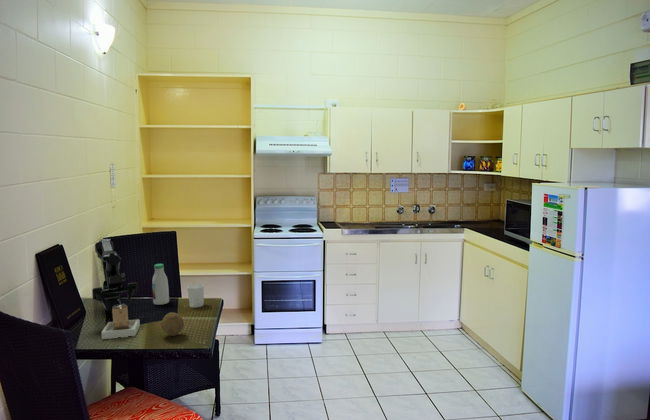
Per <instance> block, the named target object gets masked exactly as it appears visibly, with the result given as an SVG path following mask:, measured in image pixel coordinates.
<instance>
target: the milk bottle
mask: <svg viewBox="0 0 650 420" xmlns="http://www.w3.org/2000/svg"><path fill="white" fill-rule="evenodd" d="M164 268H165V266H164V263H156V264H154V266H153V269H154V274H153V275H152V281H151V282H152V283H151V284H152V285H151V286H152V287H151V288H152V302H153V304H154V305H157V306H158V305H161V306H162V305H165V304H168V303H169V302H170V296H169V295H170V293H169V292H170V291H169V280H168V276H167V275H166V273H165V270H164Z"/></svg>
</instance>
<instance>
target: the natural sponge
mask: <svg viewBox="0 0 650 420" xmlns="http://www.w3.org/2000/svg"><path fill="white" fill-rule="evenodd" d="M160 323H161V324H160V327H161V329H162V330H163V332H165V333H166V334H168V335H169V336H171V337H176V336H177V335H178V334H179V333H180V332H181V331H182V330H183V329H184V327H185V322H184V319H183V317H181V315H180V314H179V313H177V312H168V313H166V314H165V315H164V317H162V320H161V322H160Z"/></svg>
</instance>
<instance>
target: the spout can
mask: <svg viewBox="0 0 650 420" xmlns="http://www.w3.org/2000/svg"><path fill="white" fill-rule="evenodd" d="M111 314H112V322H113V326H114V330H122V329H129V323H128V320H129V310H128V304H126V303H121V304H117V305H114V306H113V307H112V313H111Z"/></svg>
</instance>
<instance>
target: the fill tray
mask: <svg viewBox="0 0 650 420" xmlns="http://www.w3.org/2000/svg"><path fill="white" fill-rule="evenodd" d="M128 323H129V329H122V330H114V326H113V321H108V322H107V323H106V325H105V326H104V328H103V329H102V330H101V340H107V339H119V338H118V337H121V338H129V337H128V336H132V337H136V336H137V333H138V331H139V328H140V326H141V322H140V319H128Z"/></svg>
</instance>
